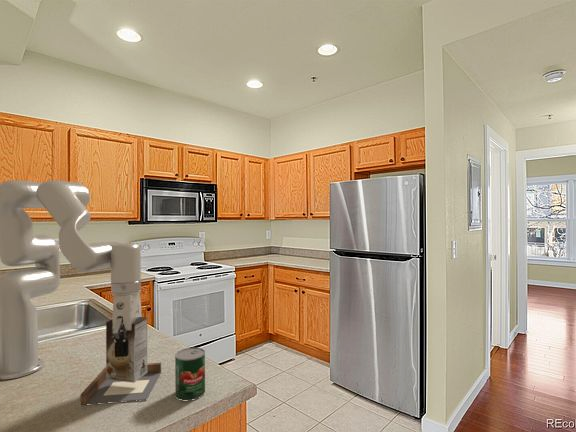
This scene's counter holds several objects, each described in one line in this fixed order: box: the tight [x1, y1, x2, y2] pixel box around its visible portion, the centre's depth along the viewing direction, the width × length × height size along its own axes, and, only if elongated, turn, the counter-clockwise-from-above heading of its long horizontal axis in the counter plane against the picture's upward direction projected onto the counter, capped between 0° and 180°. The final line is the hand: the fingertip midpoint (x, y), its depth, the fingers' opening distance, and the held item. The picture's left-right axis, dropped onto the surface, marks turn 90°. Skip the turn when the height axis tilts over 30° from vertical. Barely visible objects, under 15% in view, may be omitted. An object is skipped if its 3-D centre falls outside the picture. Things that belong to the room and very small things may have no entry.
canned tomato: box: [174, 347, 206, 400], centre depth 91 cm, size 8×8×11 cm
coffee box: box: [105, 316, 148, 383], centre depth 94 cm, size 9×6×16 cm
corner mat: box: [85, 371, 162, 406], centre depth 94 cm, size 16×16×1 cm
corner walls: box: [80, 362, 162, 406], centre depth 94 cm, size 16×16×3 cm
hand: (127, 349), depth 94 cm, fingers closed on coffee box, 7 cm apart
